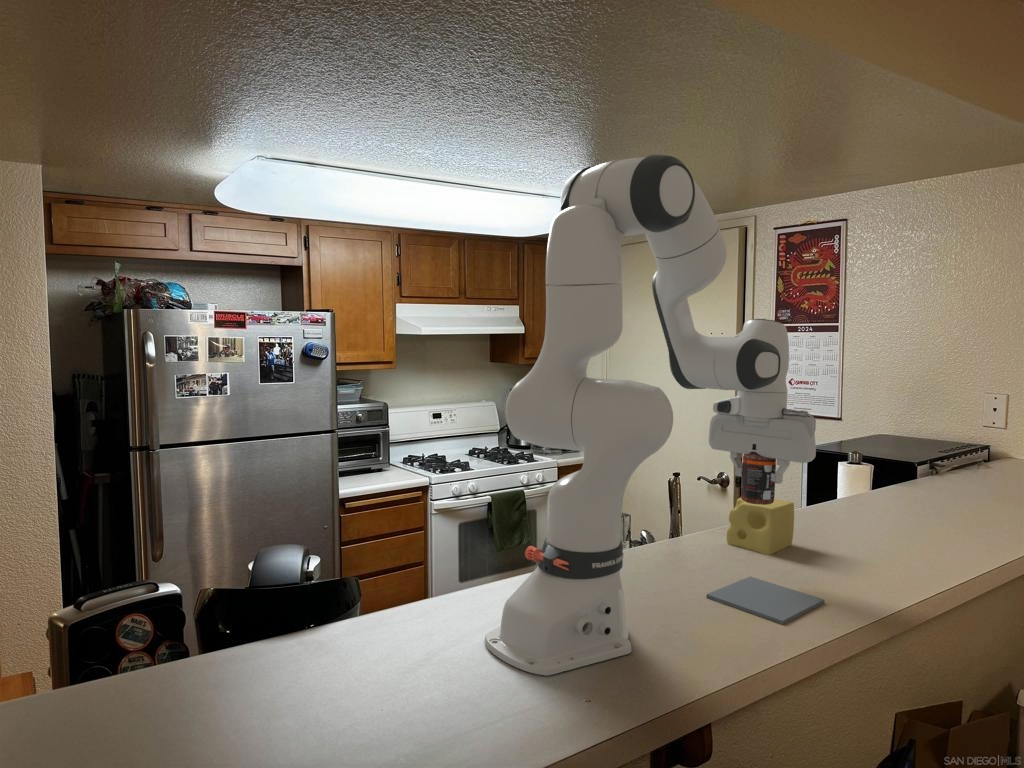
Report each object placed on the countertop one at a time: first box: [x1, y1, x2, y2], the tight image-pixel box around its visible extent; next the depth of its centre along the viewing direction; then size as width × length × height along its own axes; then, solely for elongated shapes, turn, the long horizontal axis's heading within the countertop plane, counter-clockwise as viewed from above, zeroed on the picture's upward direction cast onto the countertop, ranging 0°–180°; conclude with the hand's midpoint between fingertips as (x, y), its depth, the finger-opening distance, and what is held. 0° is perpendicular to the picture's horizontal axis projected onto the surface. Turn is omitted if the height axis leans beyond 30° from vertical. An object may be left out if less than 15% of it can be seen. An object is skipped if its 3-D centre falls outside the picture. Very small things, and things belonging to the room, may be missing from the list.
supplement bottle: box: [740, 444, 777, 505], centre depth 129 cm, size 6×6×11 cm
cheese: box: [726, 496, 795, 556], centre depth 149 cm, size 10×11×10 cm
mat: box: [706, 576, 825, 625], centre depth 118 cm, size 14×14×1 cm
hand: (758, 479), depth 129 cm, fingers closed on supplement bottle, 6 cm apart
